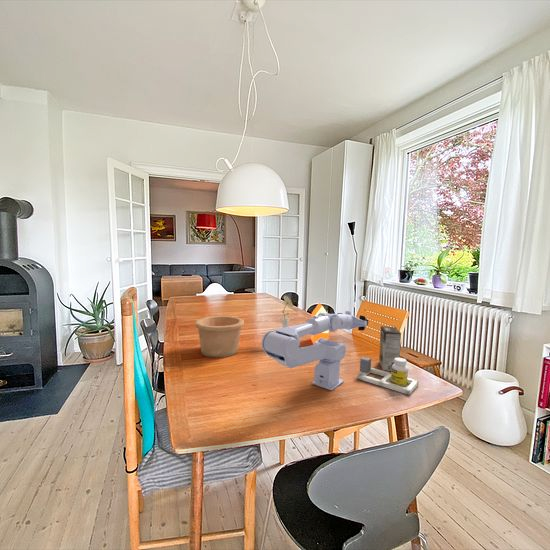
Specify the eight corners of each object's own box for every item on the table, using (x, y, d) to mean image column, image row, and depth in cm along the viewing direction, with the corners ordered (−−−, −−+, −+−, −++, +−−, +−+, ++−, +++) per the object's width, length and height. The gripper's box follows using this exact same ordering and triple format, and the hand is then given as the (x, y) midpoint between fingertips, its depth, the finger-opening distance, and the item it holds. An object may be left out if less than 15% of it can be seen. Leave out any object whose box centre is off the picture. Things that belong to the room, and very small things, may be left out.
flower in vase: (297, 350, 144) (298, 298, 141) (273, 350, 144) (274, 298, 141) (295, 341, 157) (296, 294, 154) (273, 341, 157) (274, 293, 154)
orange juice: (313, 344, 154) (314, 305, 152) (310, 338, 163) (311, 302, 161) (328, 344, 154) (330, 305, 152) (325, 339, 163) (326, 302, 161)
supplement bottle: (388, 385, 110) (389, 359, 109) (394, 380, 113) (396, 355, 112) (403, 390, 106) (404, 363, 105) (409, 385, 109) (411, 359, 109)
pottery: (237, 342, 154) (238, 314, 153) (248, 357, 133) (248, 325, 132) (194, 345, 147) (193, 316, 146) (197, 362, 127) (197, 328, 125)
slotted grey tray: (409, 395, 102) (410, 376, 101) (355, 378, 114) (356, 361, 114) (418, 384, 110) (419, 367, 110) (366, 369, 123) (367, 354, 122)
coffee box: (378, 362, 132) (380, 325, 130) (393, 363, 131) (396, 326, 129) (382, 370, 123) (384, 331, 121) (399, 371, 122) (401, 332, 120)
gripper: (359, 312, 109) (376, 313, 119) (325, 309, 119) (343, 309, 129) (358, 332, 108) (375, 331, 118) (324, 327, 118) (342, 326, 128)
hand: (358, 321), depth 123 cm, fingers open, 7 cm apart
